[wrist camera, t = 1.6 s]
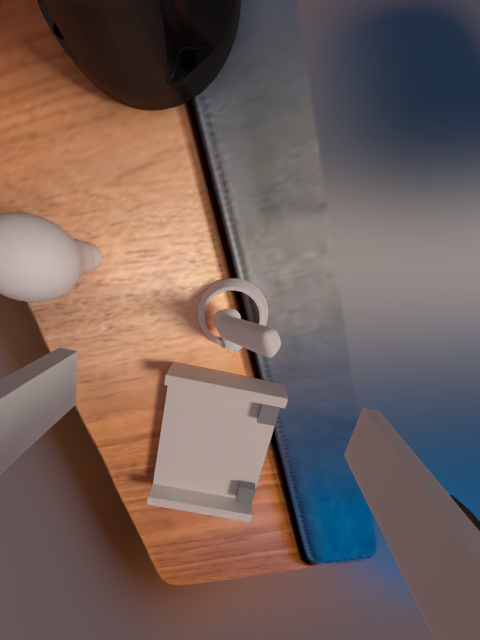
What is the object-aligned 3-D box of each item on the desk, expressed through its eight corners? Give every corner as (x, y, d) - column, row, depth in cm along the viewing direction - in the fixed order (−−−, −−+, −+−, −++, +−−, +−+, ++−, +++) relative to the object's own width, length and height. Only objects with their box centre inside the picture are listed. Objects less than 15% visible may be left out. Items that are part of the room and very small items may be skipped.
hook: (337, 339, 22) (289, 396, 19) (253, 320, 32) (212, 357, 29) (312, 264, 19) (249, 320, 16) (226, 268, 29) (177, 304, 26)
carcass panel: (173, 362, 29) (165, 374, 26) (283, 384, 29) (288, 398, 26) (155, 482, 34) (146, 504, 31) (249, 499, 34) (250, 522, 31)
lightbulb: (126, 288, 26) (47, 314, 16) (67, 283, 26) (-50, 306, 16) (123, 226, 25) (34, 211, 14) (61, 221, 25) (-75, 201, 14)
